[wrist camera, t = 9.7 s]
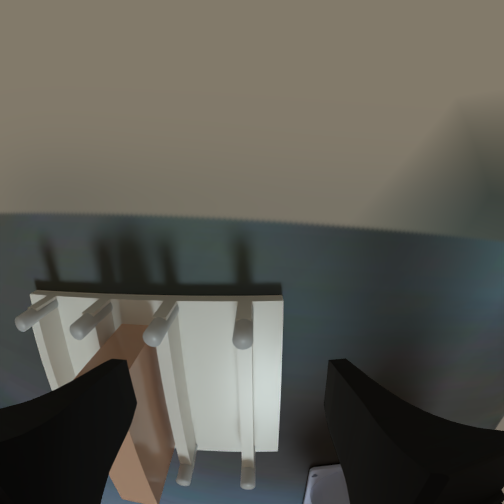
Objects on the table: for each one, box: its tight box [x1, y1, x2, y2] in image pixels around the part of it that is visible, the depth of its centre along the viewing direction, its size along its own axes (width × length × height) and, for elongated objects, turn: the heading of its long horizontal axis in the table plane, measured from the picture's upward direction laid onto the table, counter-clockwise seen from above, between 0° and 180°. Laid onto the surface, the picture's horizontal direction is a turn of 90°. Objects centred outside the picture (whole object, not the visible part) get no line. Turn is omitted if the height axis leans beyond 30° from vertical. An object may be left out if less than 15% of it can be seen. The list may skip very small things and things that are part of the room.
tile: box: [73, 324, 175, 504], centre depth 17 cm, size 10×2×7 cm, turn 1°
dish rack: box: [15, 290, 283, 489], centre depth 19 cm, size 13×18×5 cm
